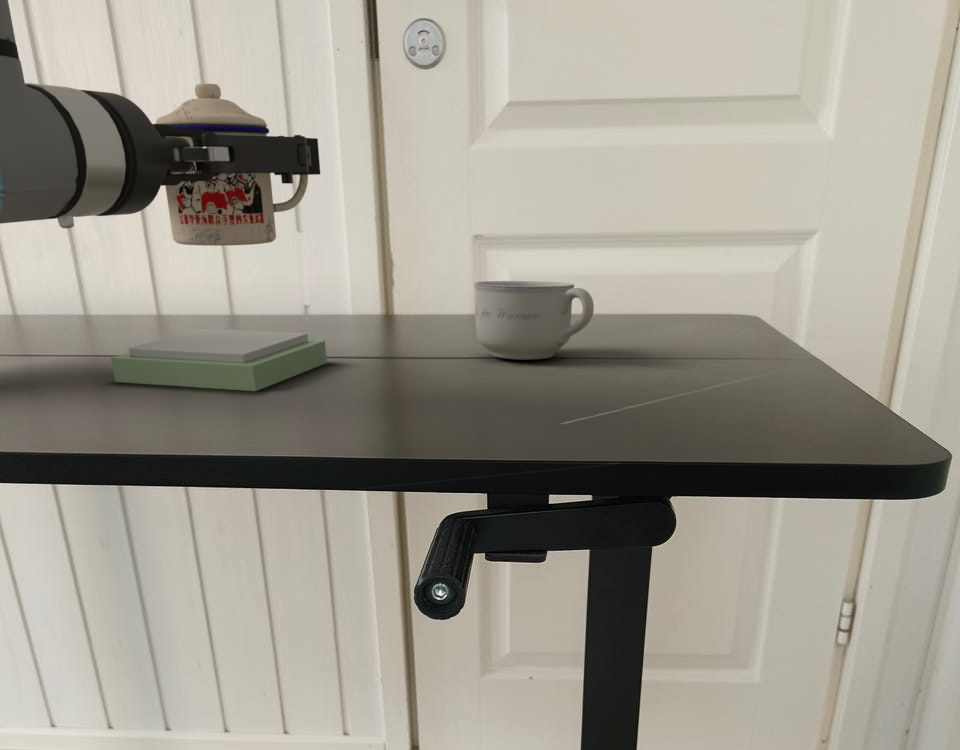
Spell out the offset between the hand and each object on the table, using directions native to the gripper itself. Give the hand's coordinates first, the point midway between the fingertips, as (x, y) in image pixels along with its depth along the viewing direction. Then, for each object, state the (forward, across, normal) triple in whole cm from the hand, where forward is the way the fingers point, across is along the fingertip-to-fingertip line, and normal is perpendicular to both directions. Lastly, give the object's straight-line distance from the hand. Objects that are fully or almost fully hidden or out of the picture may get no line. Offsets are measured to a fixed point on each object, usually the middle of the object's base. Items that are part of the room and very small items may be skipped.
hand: (255, 157), depth 79 cm
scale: (+5, -9, -20) cm, 23 cm away
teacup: (+21, +20, -20) cm, 35 cm away
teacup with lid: (-4, 0, -7) cm, 8 cm away
